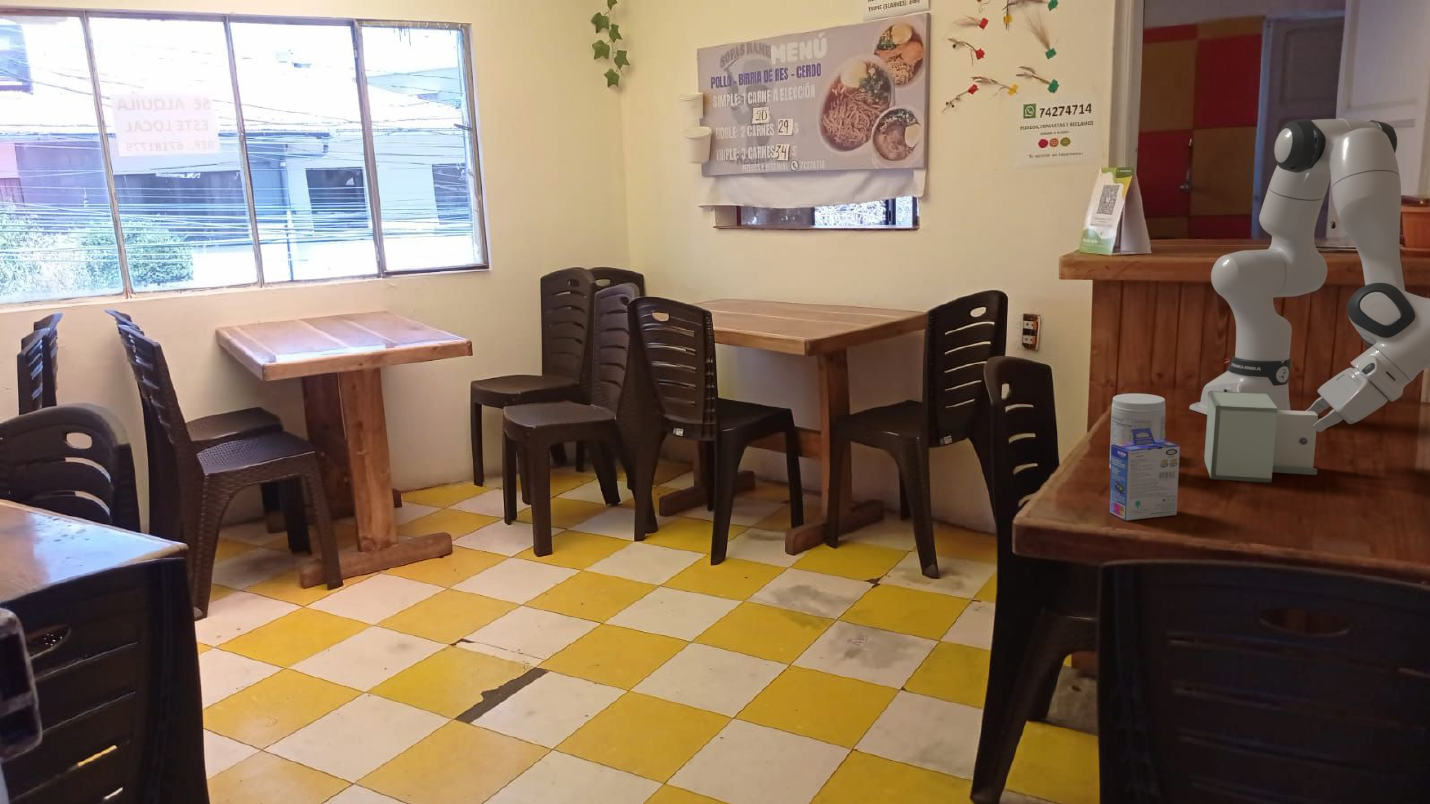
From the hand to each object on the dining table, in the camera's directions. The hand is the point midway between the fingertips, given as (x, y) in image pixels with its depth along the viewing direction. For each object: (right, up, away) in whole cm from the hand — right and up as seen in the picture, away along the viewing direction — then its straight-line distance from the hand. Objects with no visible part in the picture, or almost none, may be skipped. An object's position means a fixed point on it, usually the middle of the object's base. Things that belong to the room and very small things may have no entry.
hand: (1310, 423), depth 186 cm
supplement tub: (-32, -10, +4) cm, 33 cm away
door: (-2, -9, +3) cm, 9 cm away
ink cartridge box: (-41, -15, -20) cm, 48 cm away
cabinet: (-9, -9, +2) cm, 13 cm away
